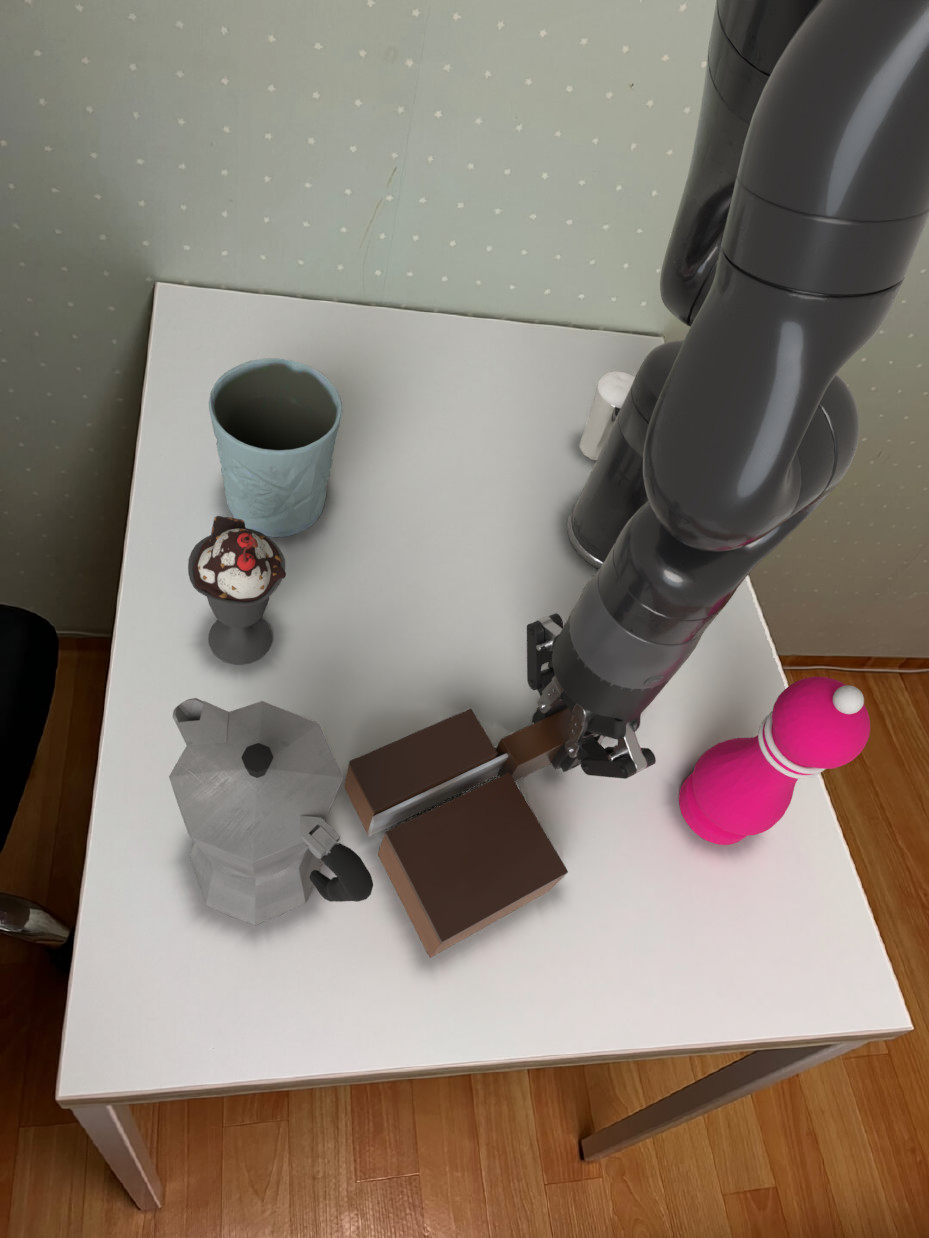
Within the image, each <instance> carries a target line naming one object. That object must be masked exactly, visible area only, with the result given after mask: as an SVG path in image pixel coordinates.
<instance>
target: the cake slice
mask: <svg viewBox="0 0 929 1238" xmlns="http://www.w3.org/2000/svg"><path fill="white" fill-rule="evenodd" d="M497 754H498V753H497V751H496V747H495V746H494V744H493V743H492V741H491V739H490V737H489V736H488V734H487V732H486V731H485V729H484V727H483V725H482V724H481V722H480V721H479V719H478V717H477V716H476V714H475V712H474V710H473V709H472V708H468V709H466V710H463V711H462V712H459V713H457V714H454V715H453V716H452V715H451V716H449V717H448V718H446V719H443V720H441V721H438V722H436V723H434V724H432V725H428V726H427V727H425V728H422V729H420V730H418V731H415V732H413V733H411V734H407V735H406V736H405V737H402V738H399V739H397V740H394V741H392V742H390V743H388V744H385V745H383V746H381V747H379V748H376V749H374V750H372V751H370V752H367V753H365V754H362V755H360V756H357V757H356V758H353V759H351V760H349V761H348V766H347V771H346V776H345V781H344V786H343V788H344V790H345V792H346V794H347V796H348V798H349V800H350V802H351V804H352V806H353V808H354V810H355V812H356V814H357V817H358V818H359V820H360V822H361V824H362V826H363V829H364V830H365V832H366V833H367V835H368V830H369V827H370V824H371V820H372V817H373V816H375V815H377V814H379V813H381V812H383V811H385V810H387V809H389V808H391V807H394V806H396V805H398V804H400V803H402V802H404V801H406V800H408V799H410V798H413V797H415V796H417V795H419V794H421V793H423V792H425V791H427V790H430V789H432V788H434V787H436V786H438V785H440V784H442V783H444V782H446V781H449V780H451V779H453V778H455V777H457V776H459V775H461V774H463V773H465V772H468V771H470V770H472V769H474V768H476V767H478V766H480V765H482V764H484V763H487V762H489V761H491V760H493V759H495V757H496V756H497Z"/></svg>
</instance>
